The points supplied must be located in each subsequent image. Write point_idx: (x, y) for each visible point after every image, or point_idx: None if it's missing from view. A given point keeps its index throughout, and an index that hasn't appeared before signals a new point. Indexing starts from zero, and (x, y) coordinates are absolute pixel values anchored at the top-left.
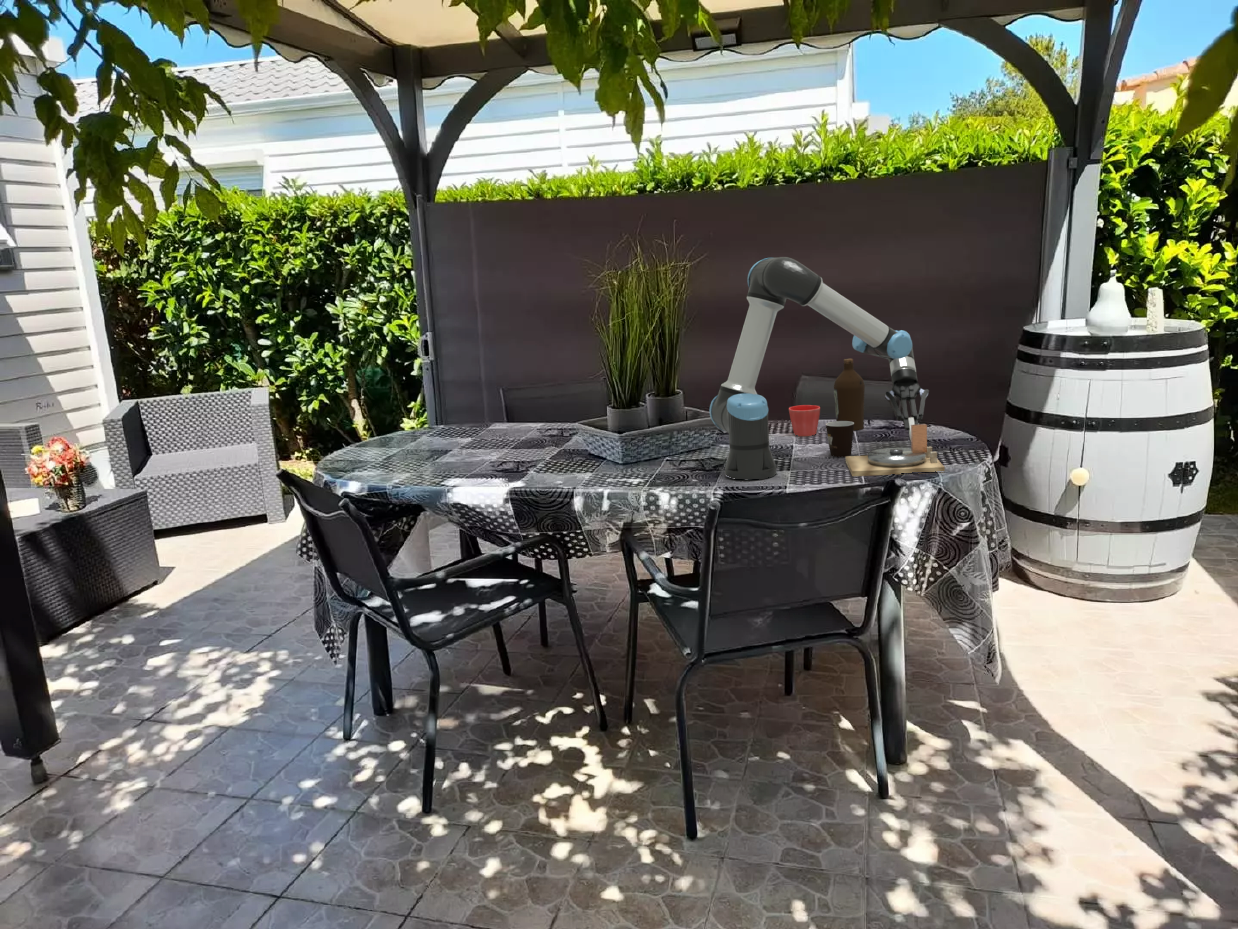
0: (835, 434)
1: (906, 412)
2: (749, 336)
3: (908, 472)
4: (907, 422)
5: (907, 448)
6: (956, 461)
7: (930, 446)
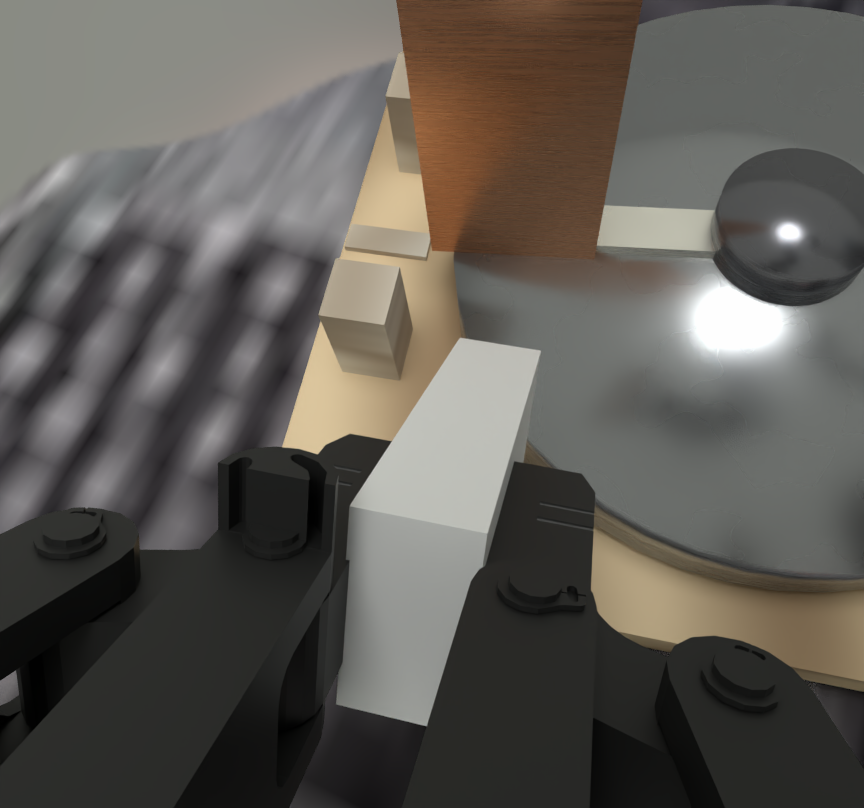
0: None
1: (486, 685)
2: None
3: None
4: (525, 532)
5: (578, 448)
6: (152, 321)
7: (326, 317)
